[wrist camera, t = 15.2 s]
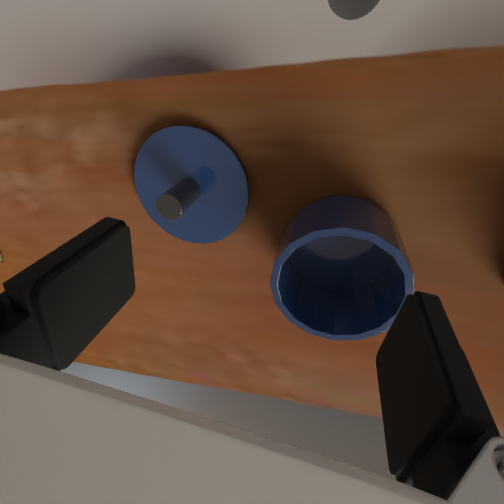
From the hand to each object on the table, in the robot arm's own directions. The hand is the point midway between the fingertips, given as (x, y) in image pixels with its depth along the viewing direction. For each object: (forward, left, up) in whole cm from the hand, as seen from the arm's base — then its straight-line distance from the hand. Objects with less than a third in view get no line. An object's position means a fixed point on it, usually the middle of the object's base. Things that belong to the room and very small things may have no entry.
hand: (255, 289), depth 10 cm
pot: (+12, +6, -26) cm, 30 cm away
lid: (+8, -13, -26) cm, 30 cm away
